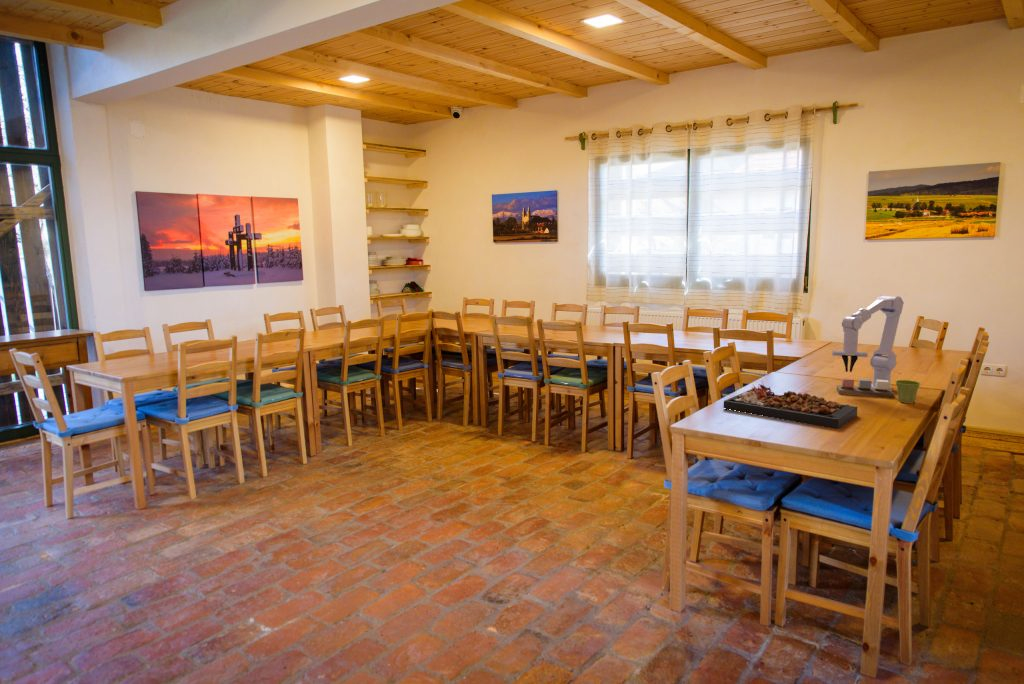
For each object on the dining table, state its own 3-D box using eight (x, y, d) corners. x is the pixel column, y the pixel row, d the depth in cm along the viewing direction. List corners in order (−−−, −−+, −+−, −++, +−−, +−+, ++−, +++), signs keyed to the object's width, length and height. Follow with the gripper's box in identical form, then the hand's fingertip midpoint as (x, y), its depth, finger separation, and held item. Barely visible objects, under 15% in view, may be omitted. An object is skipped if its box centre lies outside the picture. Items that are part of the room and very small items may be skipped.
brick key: (841, 384, 299) (842, 377, 298) (852, 385, 297) (853, 378, 297) (842, 386, 295) (843, 379, 294) (853, 387, 293) (854, 380, 292)
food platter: (723, 410, 269) (724, 387, 267) (747, 400, 287) (748, 377, 285) (837, 430, 239) (839, 404, 237) (856, 417, 256) (858, 392, 255)
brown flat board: (836, 389, 303) (836, 385, 303) (889, 392, 295) (889, 388, 294) (838, 394, 293) (839, 390, 293) (893, 398, 285) (893, 393, 284)
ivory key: (875, 386, 294) (876, 379, 293) (886, 387, 292) (887, 380, 291) (877, 388, 290) (877, 381, 289) (888, 389, 288) (889, 382, 287)
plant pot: (922, 404, 273) (924, 384, 271) (898, 403, 275) (900, 384, 273) (913, 399, 282) (915, 380, 280) (890, 398, 284) (891, 379, 282)
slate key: (858, 385, 296) (858, 378, 296) (869, 386, 295) (870, 379, 294) (859, 387, 292) (860, 380, 292) (871, 388, 290) (871, 381, 290)
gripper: (833, 343, 292) (831, 372, 294) (869, 344, 287) (867, 374, 289) (832, 341, 298) (830, 369, 300) (867, 342, 293) (865, 371, 295)
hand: (848, 371), depth 295 cm, fingers closed
